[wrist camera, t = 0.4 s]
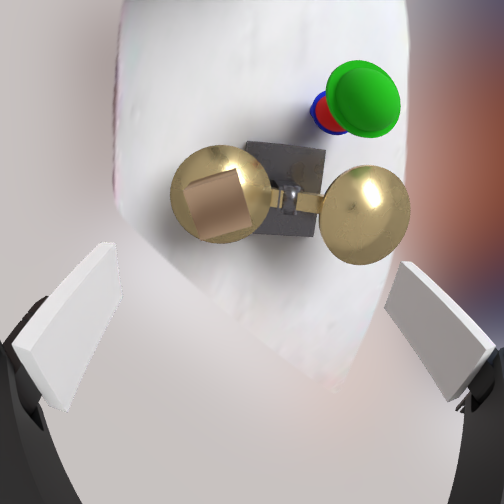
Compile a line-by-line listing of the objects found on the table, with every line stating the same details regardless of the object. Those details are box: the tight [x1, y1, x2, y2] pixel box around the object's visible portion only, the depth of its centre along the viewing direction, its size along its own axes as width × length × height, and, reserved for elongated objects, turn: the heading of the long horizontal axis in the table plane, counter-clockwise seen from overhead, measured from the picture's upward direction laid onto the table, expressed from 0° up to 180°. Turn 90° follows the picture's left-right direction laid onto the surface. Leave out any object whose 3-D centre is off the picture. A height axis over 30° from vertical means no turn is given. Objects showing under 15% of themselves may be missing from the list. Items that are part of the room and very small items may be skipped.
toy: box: [310, 60, 401, 138], centre depth 24 cm, size 8×8×15 cm
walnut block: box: [183, 168, 252, 241], centre depth 26 cm, size 5×5×5 cm
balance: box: [170, 141, 410, 265], centre depth 30 cm, size 12×26×11 cm, turn 85°
